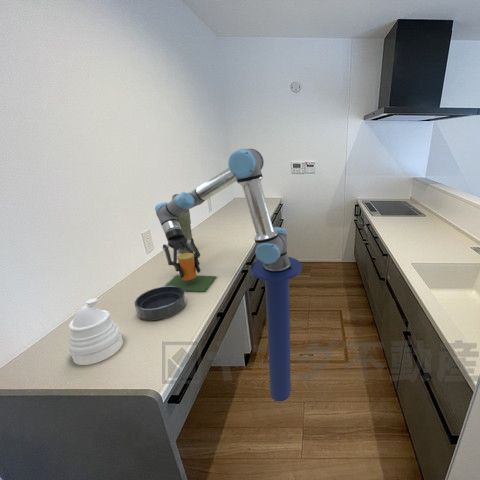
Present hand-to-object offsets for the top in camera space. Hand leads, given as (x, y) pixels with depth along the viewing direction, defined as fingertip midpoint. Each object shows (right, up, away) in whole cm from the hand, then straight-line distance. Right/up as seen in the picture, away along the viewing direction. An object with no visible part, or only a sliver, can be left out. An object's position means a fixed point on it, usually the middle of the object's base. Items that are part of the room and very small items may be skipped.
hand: (191, 273), depth 122 cm
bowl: (-5, -12, -14) cm, 19 cm away
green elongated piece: (-23, +9, +41) cm, 48 cm away
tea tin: (-3, -2, +3) cm, 5 cm away
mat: (-3, -5, +5) cm, 8 cm away
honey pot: (-13, -20, -36) cm, 43 cm away
